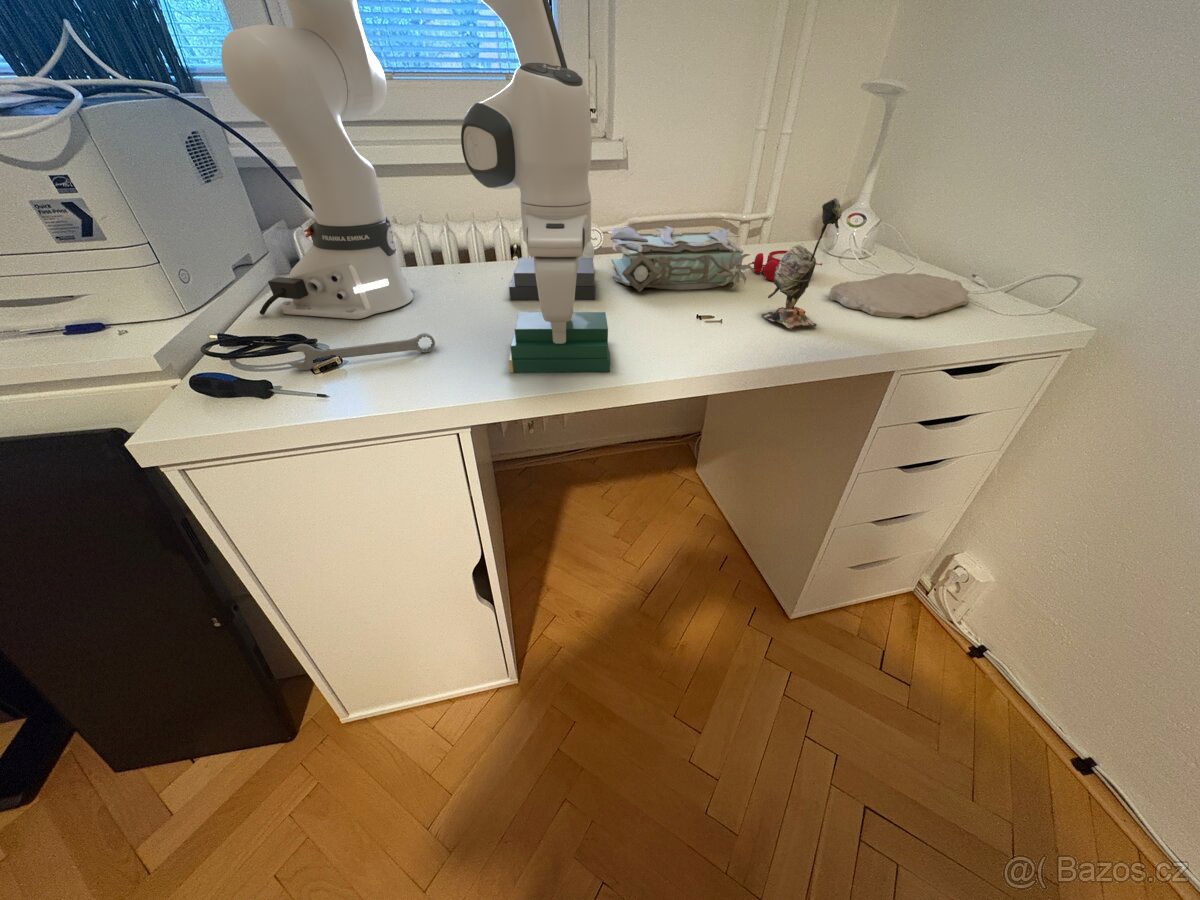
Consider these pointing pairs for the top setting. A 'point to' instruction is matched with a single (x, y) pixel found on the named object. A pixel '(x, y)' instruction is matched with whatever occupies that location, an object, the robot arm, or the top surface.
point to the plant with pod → (799, 274)
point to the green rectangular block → (559, 357)
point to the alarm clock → (769, 263)
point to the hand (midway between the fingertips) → (560, 327)
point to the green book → (577, 328)
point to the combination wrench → (357, 350)
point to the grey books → (526, 284)
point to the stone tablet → (901, 295)
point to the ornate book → (677, 259)
